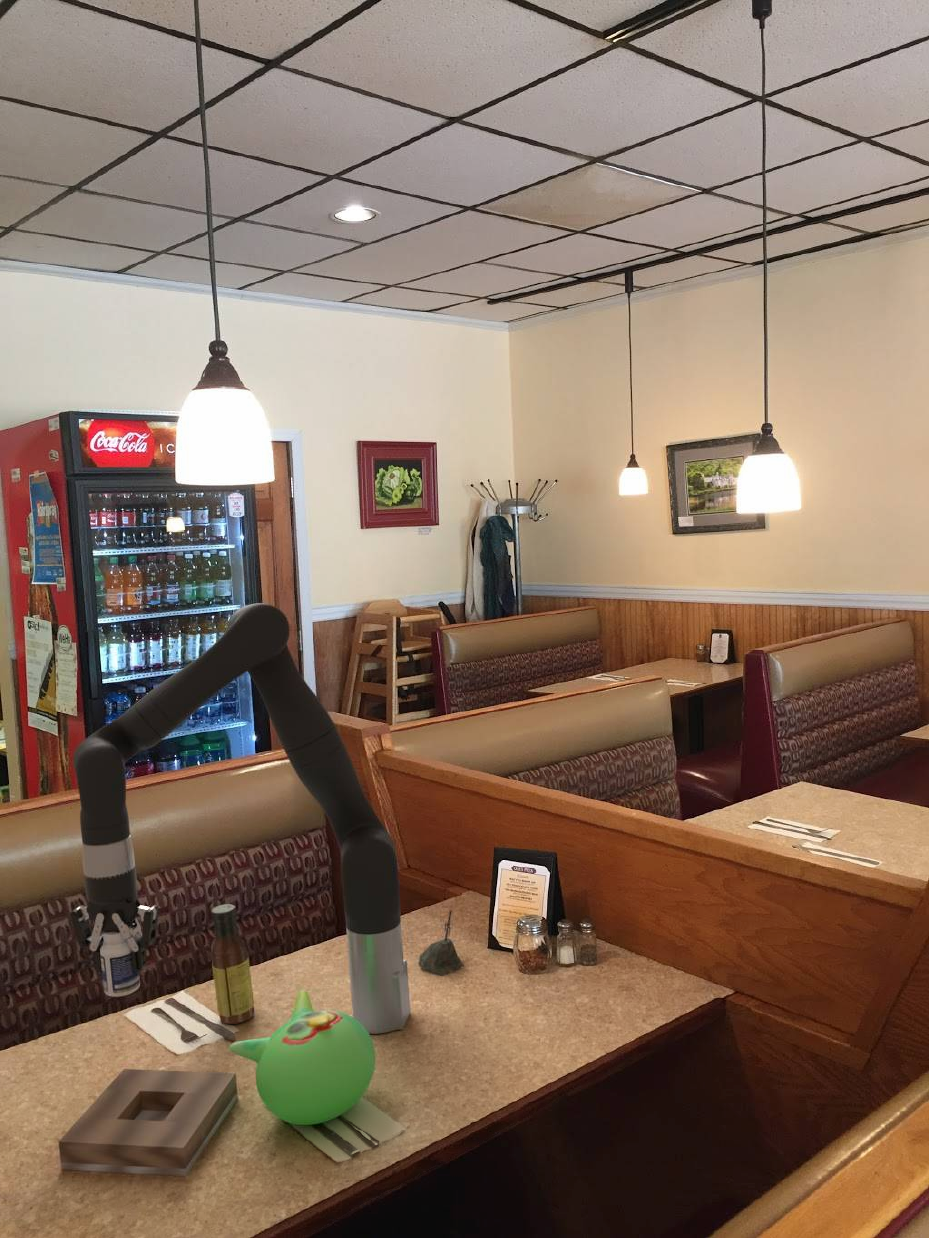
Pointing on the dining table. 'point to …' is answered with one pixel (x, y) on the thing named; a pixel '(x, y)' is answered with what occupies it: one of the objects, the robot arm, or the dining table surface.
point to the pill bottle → (117, 966)
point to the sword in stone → (441, 956)
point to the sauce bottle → (231, 968)
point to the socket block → (149, 1122)
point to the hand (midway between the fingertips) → (120, 971)
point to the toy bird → (311, 1064)
